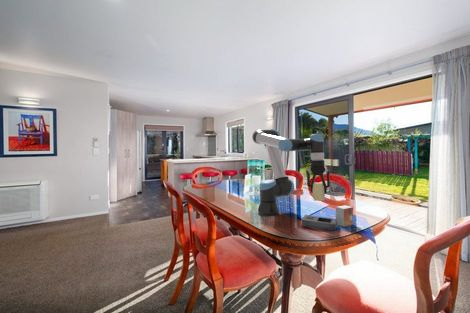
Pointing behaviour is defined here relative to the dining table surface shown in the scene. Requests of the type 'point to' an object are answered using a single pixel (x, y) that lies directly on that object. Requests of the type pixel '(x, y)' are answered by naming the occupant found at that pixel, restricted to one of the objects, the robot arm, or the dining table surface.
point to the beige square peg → (318, 191)
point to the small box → (344, 215)
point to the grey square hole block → (319, 223)
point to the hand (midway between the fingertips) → (318, 198)
